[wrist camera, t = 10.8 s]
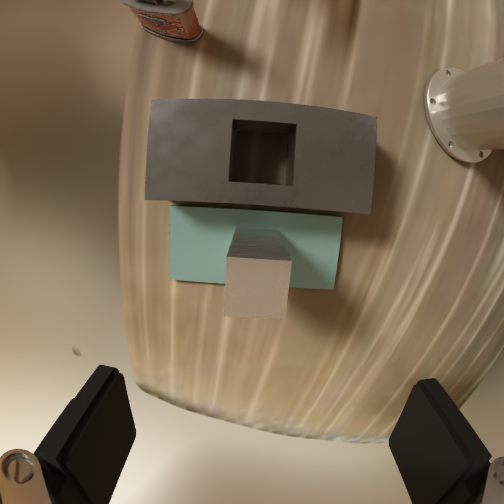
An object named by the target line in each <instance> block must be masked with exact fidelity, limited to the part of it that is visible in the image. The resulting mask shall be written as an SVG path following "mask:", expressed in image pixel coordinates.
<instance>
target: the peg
mask: <svg viewBox="0 0 504 504" xmlns="http://www.w3.org/2000/svg"><path fill="white" fill-rule="evenodd" d="M291 264H292V260H291V258H290V256H289V254H288V252H287V250H286V248H285V246H284V244H283V241H282V239H281V237H280V235H279V233H278V231H277V230H267V229H252V228H237V227H236V229H235V232H234V235H233V238H232V241H231V244H230V247H229V250H228V253H227V256H226V276H225V301H224V316H228V317H242V318H259V319H278V320H285V317H286V309H287V300H288V291H289V282H290V273H291Z"/></svg>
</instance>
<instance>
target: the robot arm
mask: <svg viewBox="0 0 504 504" xmlns="http://www.w3.org/2000/svg"><path fill="white" fill-rule="evenodd" d="M424 106H425V113H426V117H427V120H428V124H429V126H430V128H431V131H432V133H433V135H434V136H435V138H436V140H437V141H438V143H439V144H440V145H441V147H442V148H443V149H444V150H445V151H446V152H447V153H448V154H449V155H451V156H452V157H454V158H455V159H457V160H459V161H462V162H466V163H476V162H480V161H482V160H484V159H486V158H487V157H488V156H489V155H490V154H491V152H492V150H497V149H504V58H502V59H499V60H496V61H494V62H491V63H489V64H486V65H483V66H481V67H478V68H476V69H473V70H471V71H468V72H465V71H464V70H461V69H458V68H453V67H448V68H443V69H441V70H439V71H437V72H436V73H434V74H433V75H432V76H431V77H430V79H429V80H428V82H427V85H426V88H425V93H424ZM135 437H136V429H135V424H134V420H133V416H132V412H131V408H130V404H129V400H128V395H127V390H126V385H125V380H124V376H123V374H121V373H119V370H118V369H117V368H114V367H109V366H104V365H99V366H98V367H97V368H96V370H95V371H94V373H93V374H92V375H91V377H90V378H89V379H88V381H87V382H86V383H85V385H84V386H83V387H82V389H81V390H80V392H79V393H78V394H77V396H76V397H75V398H73V399H72V400H71V401H70V402H69V404H68V405H67V406H66V408H65V409H64V411H63V412H62V414H61V415H60V416H59V417H58V419H57V420H56V422H55V423H54V425H53V426H52V427H51V429H50V430H49V432H48V433H47V435H46V436H45V437H44V439H43V440H42V442H41V443H40V445H39V446H38V448H37V449H36V451H35V452H34V454H32V453H31V452H29V451H27V450H23V449H13V450H9V451H7V452H6V453H4V454H3V455H2V456H1V457H0V504H109V502H110V499H111V497H112V494H113V492H114V489H115V487H116V484H117V482H118V479H119V477H120V474H121V472H122V469H123V467H124V464H125V462H126V459H127V457H128V455H129V452H130V450H131V447H132V445H133V443H134V440H135ZM389 447H390V449H391V452H392V454H393V456H394V459H395V461H396V464H397V466H398V469H399V471H400V473H401V476H402V478H403V481H404V483H405V486H406V488H407V491H408V493H409V496H410V498H411V501H412V504H504V457H499V458H497V459H495V460H493V462H492V463H490V462H489V460H490V458H491V457H492V456H491V454H490V453H489V452H488V450H487V448H486V447H485V445H484V444H483V443H482V441H481V440H480V438H479V437H478V435H477V434H476V432H475V431H474V430H473V428H472V427H471V425H470V424H469V422H468V421H467V420H466V418H465V417H464V416H463V414H462V413H461V412H460V410H459V409H458V407H457V406H456V405H455V403H454V402H453V401H452V399H451V398H450V396H449V395H448V394H447V393H446V391H445V390H444V389H443V387H442V386H441V385H440V383H439V382H438V381H437V380H436V379H434V378H432V379H424V380H419V381H418V382H417V384H416V385H414V386H413V388H412V390H411V393H410V395H409V397H408V400H407V402H406V404H405V407H404V409H403V411H402V413H401V415H400V417H399V420H398V422H397V424H396V426H395V428H394V430H393V432H392V434H391V436H390V438H389Z"/></svg>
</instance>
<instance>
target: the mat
mask: <svg viewBox="0 0 504 504" xmlns="http://www.w3.org/2000/svg"><path fill="white" fill-rule="evenodd" d="M342 222H343V217H341V216H330V215H319V214H307V213H295V212H282V211H268V210H253V209H237V208H219V207H199V206H175V205H172V206H170V280H182V281H194V282H208V283H222V284H225V276H226V256H227V253H228V250H229V247H230V244H231V241H232V238H233V235H234V232H235V229H236V227H237V228H252V229H267V230H277V231H278V233H279V235H280V237H281V239H282V241H283V244H284V246H285V248H286V250H287V252H288V254H289V256H290V258H291V260H292V264H291V273H290V282H289V288H309V289H332V290H334V284H335V277H336V270H337V263H338V255H339V247H340V239H341V231H342Z"/></svg>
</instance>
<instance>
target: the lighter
mask: <svg viewBox="0 0 504 504" xmlns="http://www.w3.org/2000/svg"><path fill="white" fill-rule="evenodd" d="M121 1H122V3H123V4H124V5H126V6H128V7H129V8H130V10H131V11H132V12H133V13H134V15H135V16H136V17H137V18H138V20H139V21H140V22H141V26H142V28H143V29H144V30H145V31H147V32H149V33H151V34H153V35H155V36H157V37H160V38H162V39H165V40H169V41H173V42H178V43H185V44H194V43H197V42H198V41H200V40H201V38H202V37H203V35H204V31H203V28H202V26H201V25H200V24H199V22H198V19H197V17H196V14H195V11H194V8H193V3H194V2H193V0H121Z"/></svg>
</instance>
